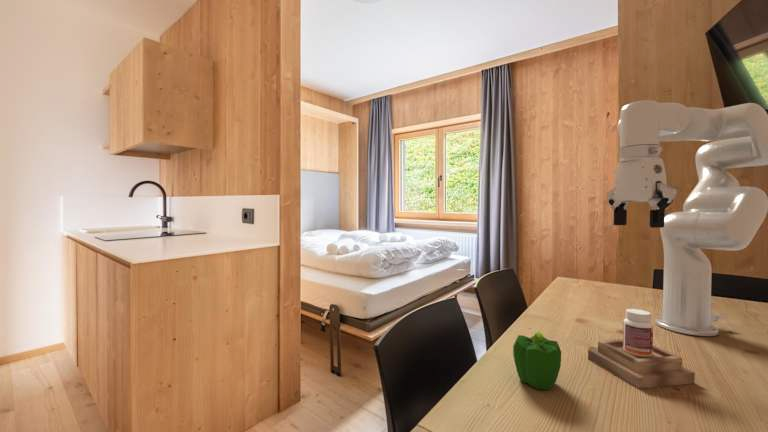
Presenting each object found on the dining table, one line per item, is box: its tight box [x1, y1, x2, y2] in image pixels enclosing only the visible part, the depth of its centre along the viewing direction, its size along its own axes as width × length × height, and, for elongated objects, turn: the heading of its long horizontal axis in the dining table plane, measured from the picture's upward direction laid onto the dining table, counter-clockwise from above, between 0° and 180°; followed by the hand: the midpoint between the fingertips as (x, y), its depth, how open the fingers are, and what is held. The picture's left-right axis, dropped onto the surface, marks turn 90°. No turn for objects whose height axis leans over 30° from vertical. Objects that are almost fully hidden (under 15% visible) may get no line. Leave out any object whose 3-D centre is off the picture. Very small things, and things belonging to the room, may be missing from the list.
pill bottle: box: [622, 308, 654, 357], centre depth 67 cm, size 5×5×8 cm
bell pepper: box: [512, 331, 562, 391], centre depth 62 cm, size 8×8×10 cm
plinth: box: [587, 338, 696, 390], centre depth 67 cm, size 12×12×4 cm
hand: (637, 226), depth 80 cm, fingers open, 9 cm apart
